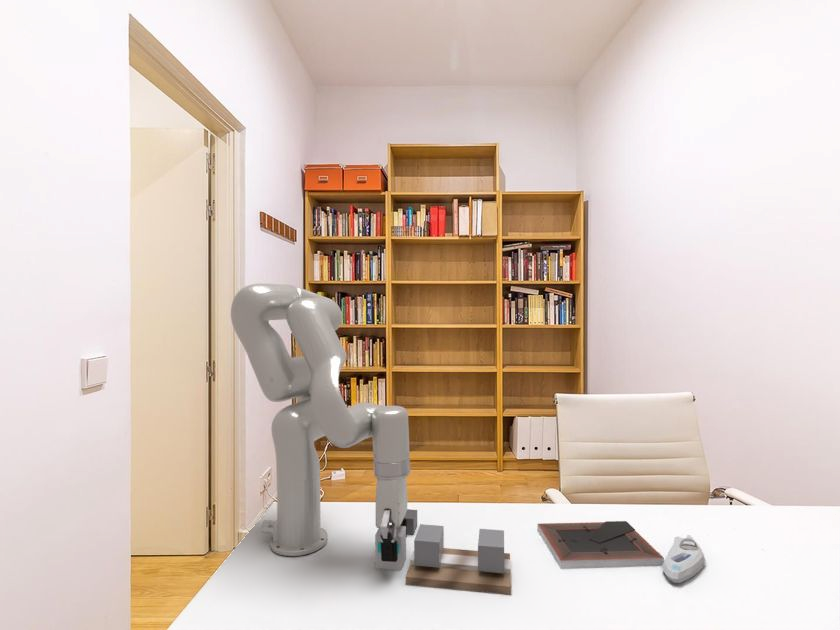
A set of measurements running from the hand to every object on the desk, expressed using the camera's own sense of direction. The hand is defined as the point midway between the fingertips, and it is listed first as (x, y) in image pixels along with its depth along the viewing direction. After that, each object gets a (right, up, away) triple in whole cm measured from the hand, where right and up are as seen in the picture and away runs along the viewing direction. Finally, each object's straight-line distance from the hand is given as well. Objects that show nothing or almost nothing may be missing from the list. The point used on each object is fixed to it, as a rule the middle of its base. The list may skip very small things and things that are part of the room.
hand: (394, 548), depth 100 cm
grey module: (-1, -3, 0) cm, 3 cm away
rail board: (+13, -3, -3) cm, 14 cm away
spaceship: (+60, -4, +1) cm, 60 cm away
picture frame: (+44, -4, +7) cm, 45 cm away
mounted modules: (+13, -1, -3) cm, 14 cm away
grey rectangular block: (+2, -3, +15) cm, 16 cm away
